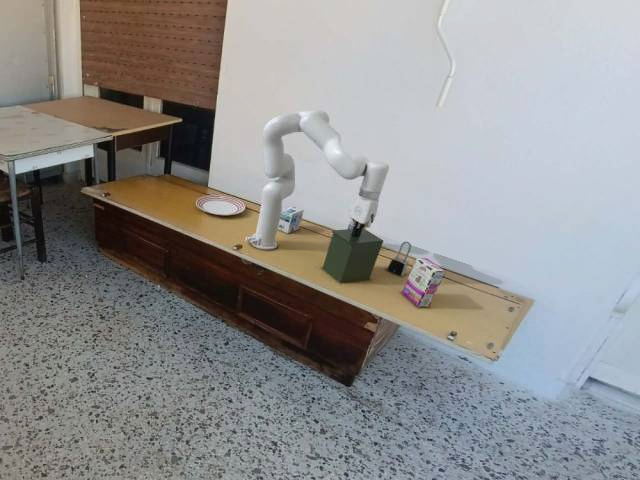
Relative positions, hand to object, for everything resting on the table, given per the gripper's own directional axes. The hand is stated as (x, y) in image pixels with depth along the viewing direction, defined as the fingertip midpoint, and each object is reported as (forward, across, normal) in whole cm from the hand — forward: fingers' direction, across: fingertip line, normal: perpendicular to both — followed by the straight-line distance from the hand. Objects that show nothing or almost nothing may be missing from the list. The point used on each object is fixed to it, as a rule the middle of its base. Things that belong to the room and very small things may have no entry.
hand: (355, 235), depth 190 cm
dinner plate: (+18, -78, -23) cm, 84 cm away
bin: (+19, 0, +2) cm, 19 cm away
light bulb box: (+19, -47, +2) cm, 51 cm away
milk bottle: (+19, -25, +24) cm, 39 cm away
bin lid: (+1, 0, +1) cm, 1 cm away
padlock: (+19, +3, +26) cm, 32 cm away
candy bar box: (+19, +24, +16) cm, 35 cm away
